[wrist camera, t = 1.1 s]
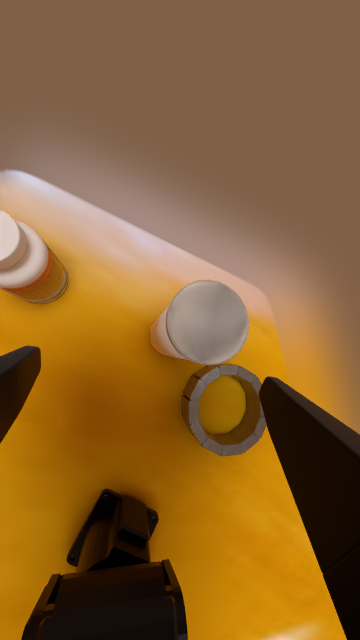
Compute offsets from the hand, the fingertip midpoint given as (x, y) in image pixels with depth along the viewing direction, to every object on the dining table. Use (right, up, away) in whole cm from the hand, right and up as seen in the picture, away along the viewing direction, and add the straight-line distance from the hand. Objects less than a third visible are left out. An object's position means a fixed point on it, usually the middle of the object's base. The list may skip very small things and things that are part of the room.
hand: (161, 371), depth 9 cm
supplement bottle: (-14, +6, +15) cm, 22 cm away
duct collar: (+5, -8, +18) cm, 20 cm away
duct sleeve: (0, 0, +17) cm, 17 cm away
